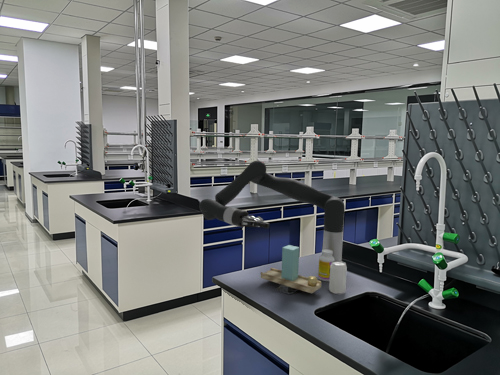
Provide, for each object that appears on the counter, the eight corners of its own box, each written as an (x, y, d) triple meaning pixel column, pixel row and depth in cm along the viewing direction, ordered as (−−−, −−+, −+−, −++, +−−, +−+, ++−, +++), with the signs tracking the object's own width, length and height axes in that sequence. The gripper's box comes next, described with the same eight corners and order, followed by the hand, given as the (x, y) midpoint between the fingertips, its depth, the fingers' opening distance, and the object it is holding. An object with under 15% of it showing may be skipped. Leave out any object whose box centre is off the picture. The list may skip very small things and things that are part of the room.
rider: (281, 278, 148) (282, 247, 146) (287, 274, 152) (288, 244, 150) (291, 281, 145) (293, 250, 143) (298, 277, 149) (299, 247, 147)
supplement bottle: (329, 283, 155) (331, 254, 153) (315, 279, 159) (316, 251, 157) (335, 278, 160) (337, 250, 159) (322, 274, 164) (323, 247, 163)
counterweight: (305, 285, 142) (306, 277, 142) (310, 282, 145) (310, 275, 145) (314, 287, 140) (314, 280, 140) (318, 284, 143) (318, 277, 143)
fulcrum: (275, 289, 147) (275, 284, 146) (289, 281, 155) (289, 276, 155) (290, 294, 143) (290, 288, 142) (303, 286, 151) (304, 280, 151)
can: (327, 292, 146) (328, 263, 144) (331, 286, 151) (333, 259, 150) (343, 296, 143) (345, 266, 141) (347, 290, 148) (348, 262, 147)
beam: (260, 278, 153) (260, 272, 152) (271, 272, 159) (271, 267, 159) (311, 293, 138) (312, 287, 138) (321, 287, 145) (321, 281, 144)
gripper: (227, 210, 156) (260, 219, 147) (245, 207, 167) (277, 215, 157) (225, 227, 157) (258, 237, 148) (243, 222, 168) (275, 231, 159)
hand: (268, 225), depth 153 cm, fingers closed
